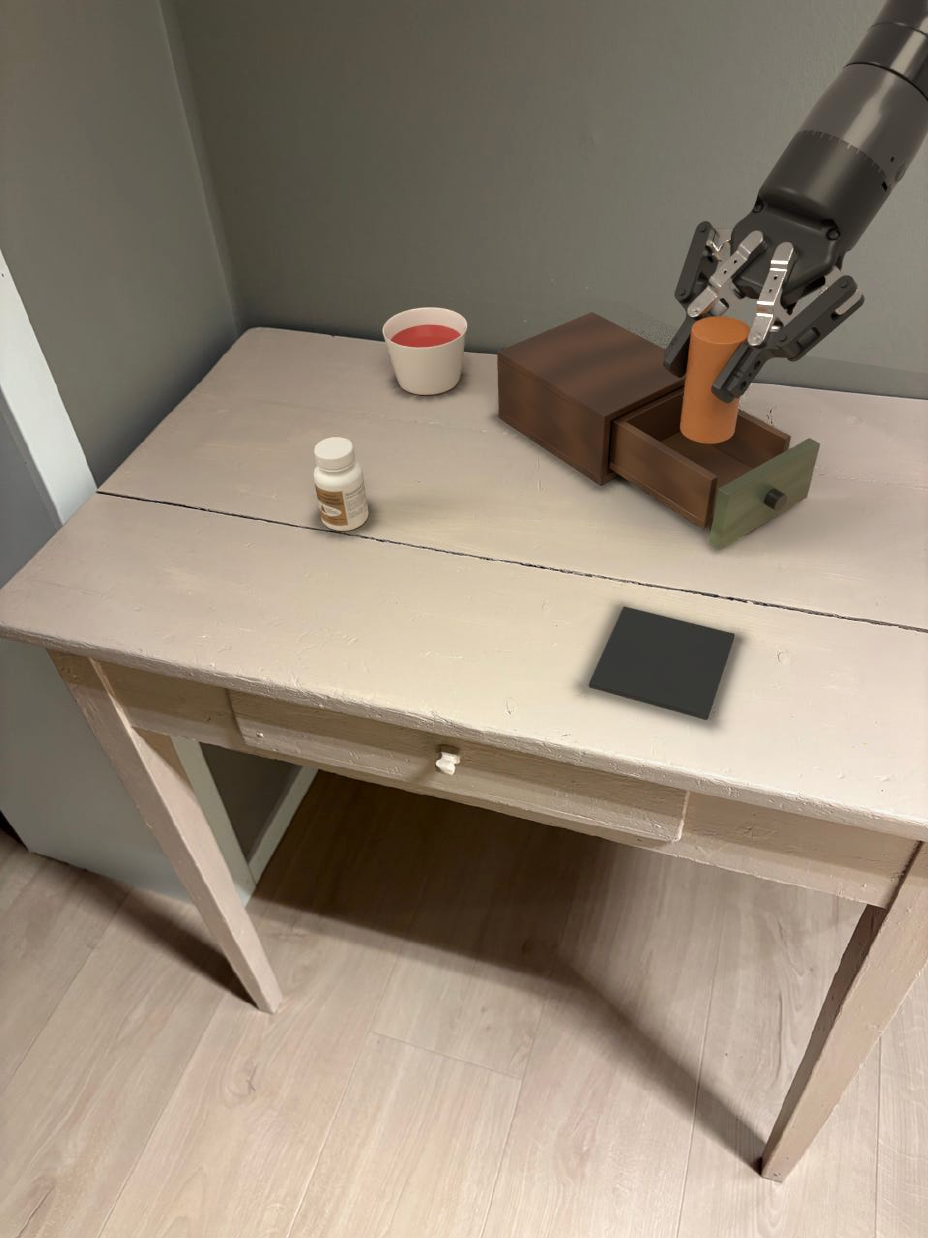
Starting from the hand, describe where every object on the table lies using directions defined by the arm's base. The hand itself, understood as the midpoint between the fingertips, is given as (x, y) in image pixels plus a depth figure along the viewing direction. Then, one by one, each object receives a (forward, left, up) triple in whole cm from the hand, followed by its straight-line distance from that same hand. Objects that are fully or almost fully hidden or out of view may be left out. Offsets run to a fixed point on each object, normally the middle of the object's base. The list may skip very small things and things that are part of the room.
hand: (695, 383), depth 68 cm
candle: (+33, -23, -19) cm, 45 cm away
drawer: (0, -13, -18) cm, 22 cm away
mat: (-2, +9, -19) cm, 21 cm away
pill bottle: (+30, +2, -19) cm, 35 cm away
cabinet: (+13, -20, -19) cm, 30 cm away
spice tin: (-1, -2, -5) cm, 5 cm away
